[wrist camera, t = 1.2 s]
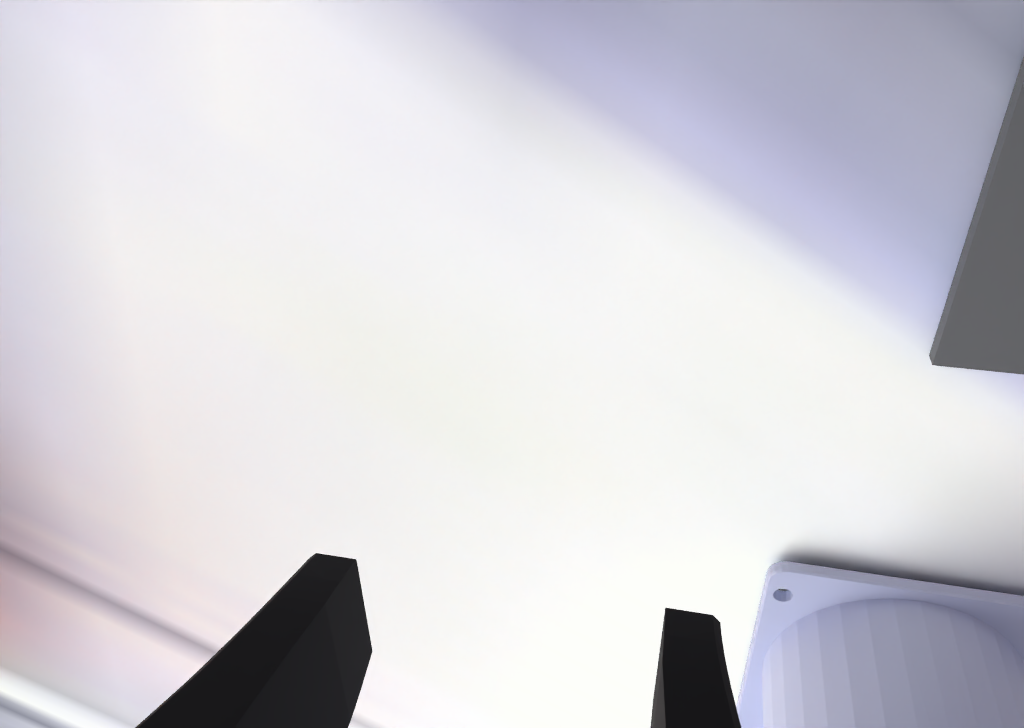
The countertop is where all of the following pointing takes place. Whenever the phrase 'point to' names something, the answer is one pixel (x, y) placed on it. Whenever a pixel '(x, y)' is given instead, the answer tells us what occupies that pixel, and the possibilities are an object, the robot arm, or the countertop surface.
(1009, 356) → the mat
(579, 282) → the countertop surface
